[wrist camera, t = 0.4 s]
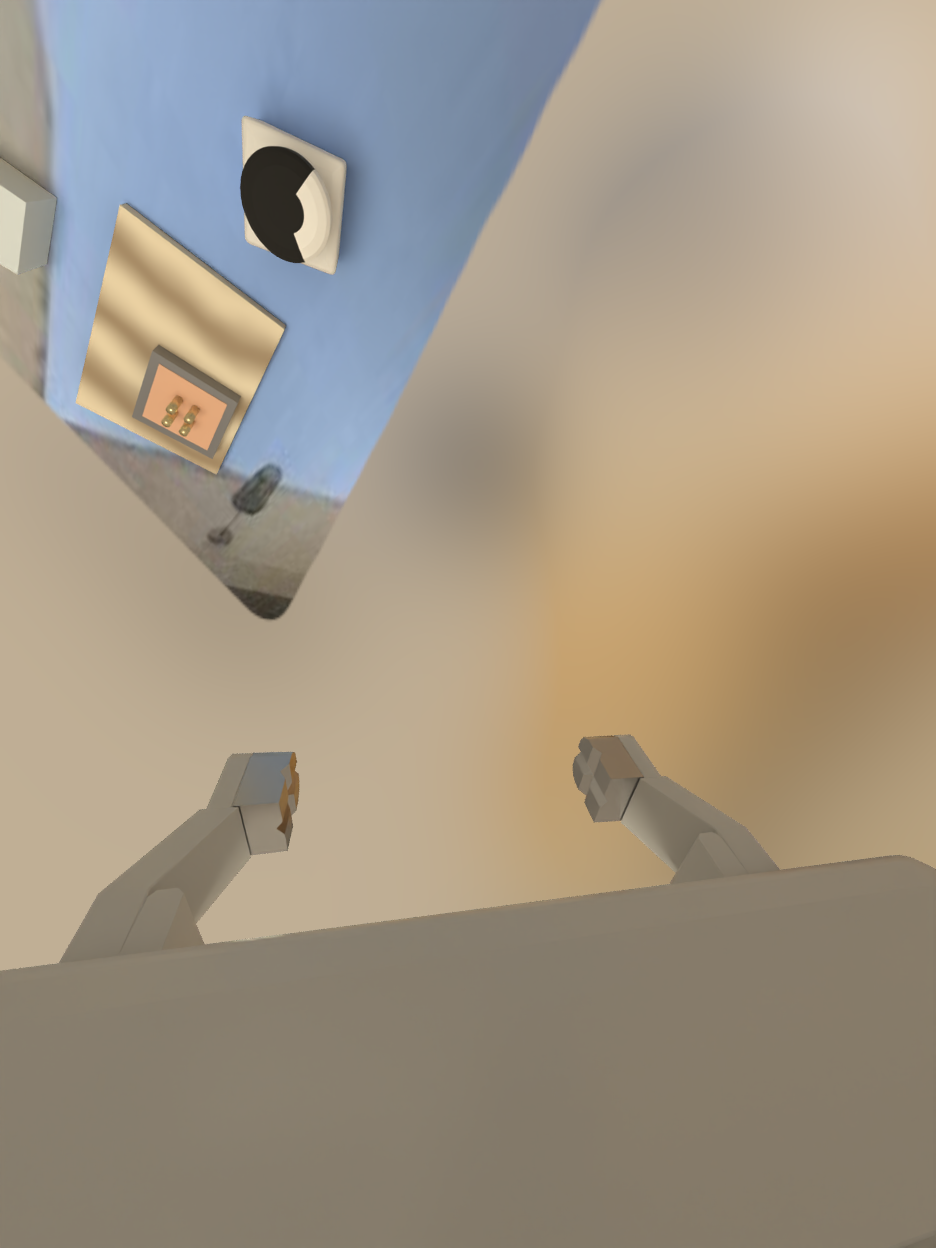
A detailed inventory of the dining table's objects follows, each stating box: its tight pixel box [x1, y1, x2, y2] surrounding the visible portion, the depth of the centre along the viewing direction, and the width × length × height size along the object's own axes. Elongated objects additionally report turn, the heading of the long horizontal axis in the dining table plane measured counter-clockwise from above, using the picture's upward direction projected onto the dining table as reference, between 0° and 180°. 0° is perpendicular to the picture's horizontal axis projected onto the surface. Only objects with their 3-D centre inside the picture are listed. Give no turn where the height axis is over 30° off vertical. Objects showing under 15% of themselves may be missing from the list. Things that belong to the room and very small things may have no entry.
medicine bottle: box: [240, 116, 347, 275], centre depth 34 cm, size 7×7×12 cm
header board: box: [76, 203, 286, 474], centre depth 43 cm, size 20×14×7 cm
